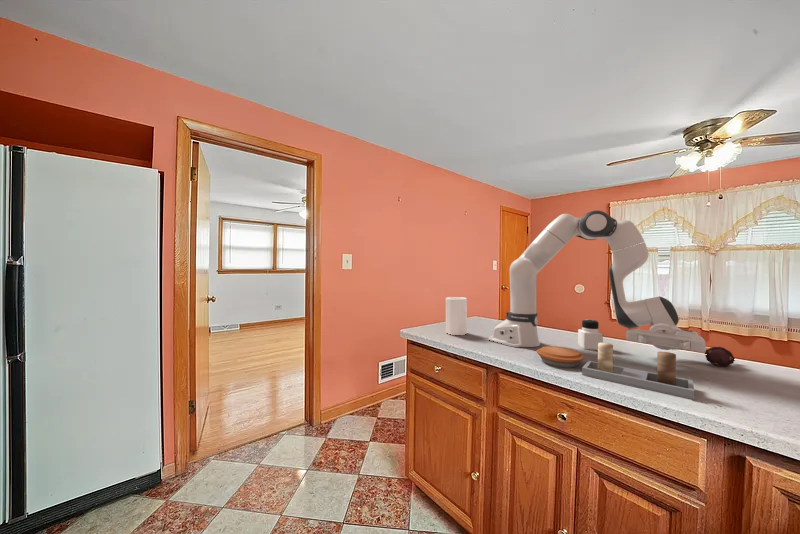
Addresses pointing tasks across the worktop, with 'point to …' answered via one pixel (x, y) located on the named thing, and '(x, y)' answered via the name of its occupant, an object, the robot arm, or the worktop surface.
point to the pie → (560, 356)
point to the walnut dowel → (666, 368)
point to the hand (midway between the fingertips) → (662, 343)
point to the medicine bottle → (589, 335)
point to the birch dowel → (605, 357)
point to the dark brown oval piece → (719, 356)
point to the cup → (456, 315)
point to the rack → (640, 380)
